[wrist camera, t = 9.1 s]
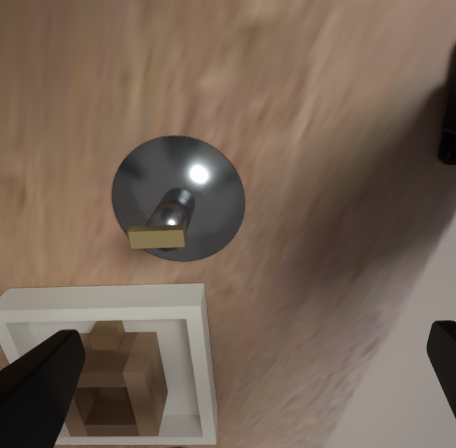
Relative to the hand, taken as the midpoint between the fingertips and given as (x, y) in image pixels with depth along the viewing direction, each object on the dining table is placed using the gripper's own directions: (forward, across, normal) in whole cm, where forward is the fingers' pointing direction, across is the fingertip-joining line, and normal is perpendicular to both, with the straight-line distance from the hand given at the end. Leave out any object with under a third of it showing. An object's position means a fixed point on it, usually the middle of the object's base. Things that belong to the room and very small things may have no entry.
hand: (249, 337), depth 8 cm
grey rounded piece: (+12, +4, +1) cm, 13 cm away
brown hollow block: (+11, +10, +13) cm, 20 cm away
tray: (+12, +10, +14) cm, 21 cm away
